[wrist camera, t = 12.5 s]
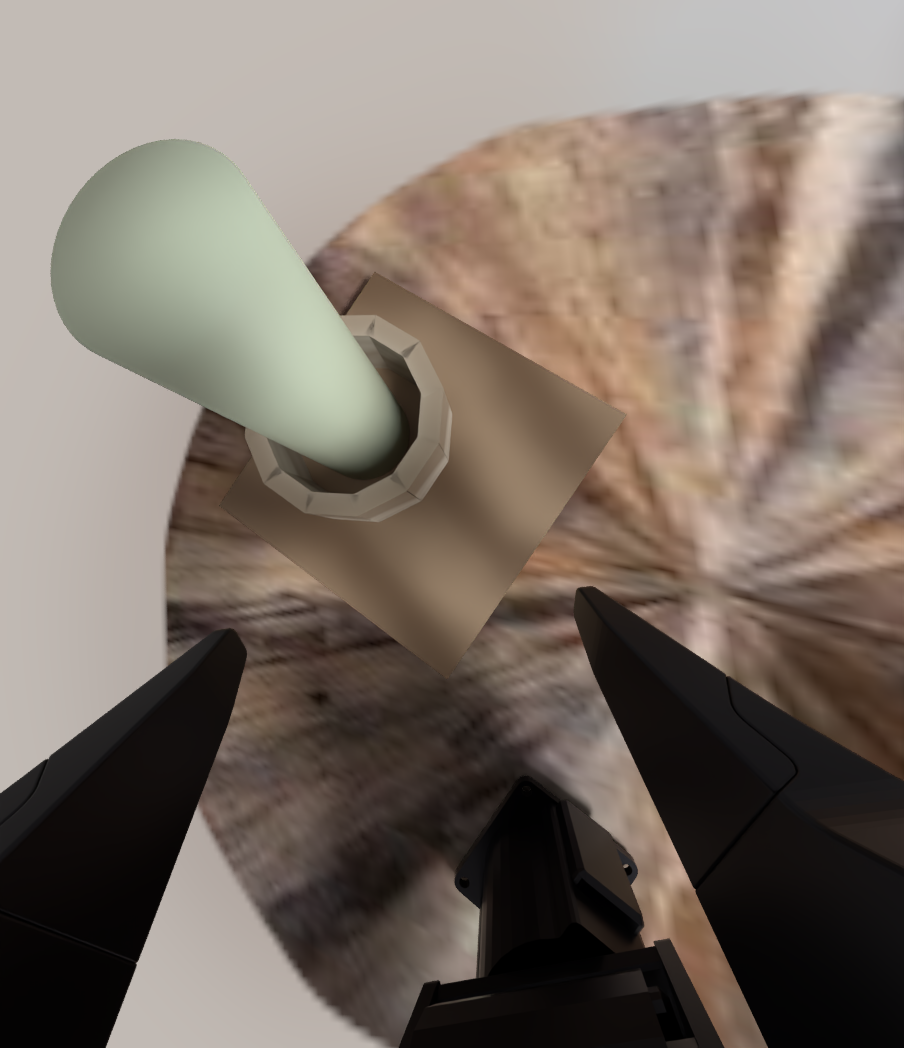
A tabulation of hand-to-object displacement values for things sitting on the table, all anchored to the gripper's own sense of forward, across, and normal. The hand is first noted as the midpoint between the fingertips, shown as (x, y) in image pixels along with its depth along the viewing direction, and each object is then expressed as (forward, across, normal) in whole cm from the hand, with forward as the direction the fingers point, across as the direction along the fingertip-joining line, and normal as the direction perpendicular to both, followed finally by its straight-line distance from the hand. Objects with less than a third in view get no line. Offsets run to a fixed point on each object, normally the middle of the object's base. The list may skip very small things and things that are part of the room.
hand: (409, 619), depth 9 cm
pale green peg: (+13, +3, -2) cm, 13 cm away
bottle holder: (+12, 0, +1) cm, 12 cm away
